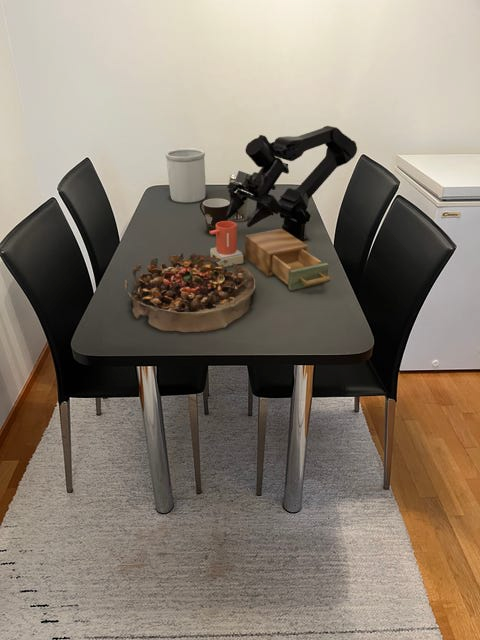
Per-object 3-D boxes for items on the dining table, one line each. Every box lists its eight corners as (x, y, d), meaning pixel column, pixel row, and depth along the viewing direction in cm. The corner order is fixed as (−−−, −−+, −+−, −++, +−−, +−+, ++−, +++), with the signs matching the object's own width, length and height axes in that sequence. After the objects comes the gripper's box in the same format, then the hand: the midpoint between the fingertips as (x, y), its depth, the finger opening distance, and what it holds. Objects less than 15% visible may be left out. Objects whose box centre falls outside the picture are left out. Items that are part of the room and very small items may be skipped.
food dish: (141, 268, 145) (139, 243, 141) (255, 271, 145) (256, 246, 141) (110, 330, 115) (106, 299, 111) (254, 334, 114) (256, 304, 110)
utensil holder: (164, 202, 193) (160, 156, 183) (174, 191, 205) (170, 146, 196) (202, 204, 191) (200, 157, 182) (209, 192, 203) (208, 148, 194)
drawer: (335, 288, 131) (337, 270, 128) (299, 297, 127) (300, 278, 124) (300, 262, 145) (301, 245, 142) (266, 270, 140) (266, 252, 138)
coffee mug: (233, 235, 165) (233, 205, 159) (208, 238, 162) (207, 208, 157) (222, 223, 174) (221, 194, 169) (198, 226, 172) (197, 197, 166)
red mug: (228, 245, 150) (228, 219, 146) (240, 251, 146) (240, 225, 142) (205, 252, 146) (204, 226, 141) (217, 258, 142) (216, 232, 137)
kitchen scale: (231, 253, 152) (231, 243, 151) (243, 263, 146) (243, 253, 145) (209, 257, 150) (209, 248, 148) (220, 267, 144) (220, 258, 142)
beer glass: (246, 222, 174) (247, 179, 167) (227, 221, 176) (226, 178, 168) (250, 215, 180) (250, 173, 172) (231, 214, 181) (231, 172, 174)
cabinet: (306, 267, 144) (307, 245, 140) (267, 276, 139) (268, 253, 135) (280, 249, 155) (281, 228, 151) (244, 256, 150) (244, 235, 146)
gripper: (231, 153, 145) (201, 198, 145) (275, 166, 132) (242, 215, 132) (252, 176, 153) (223, 218, 153) (295, 190, 141) (264, 236, 141)
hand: (237, 221), depth 144 cm, fingers open, 9 cm apart
